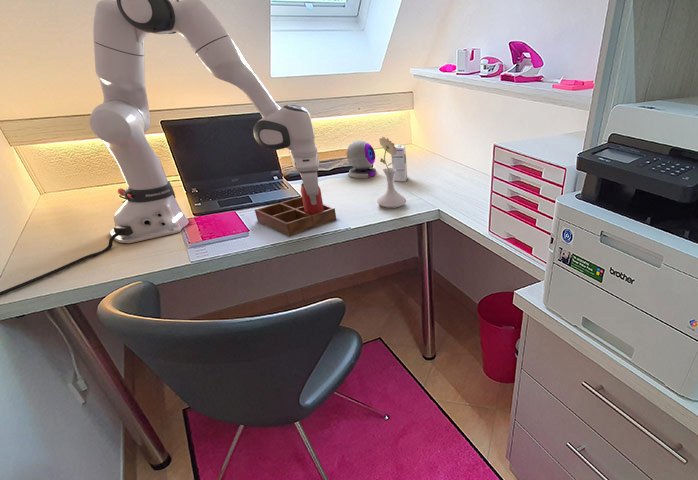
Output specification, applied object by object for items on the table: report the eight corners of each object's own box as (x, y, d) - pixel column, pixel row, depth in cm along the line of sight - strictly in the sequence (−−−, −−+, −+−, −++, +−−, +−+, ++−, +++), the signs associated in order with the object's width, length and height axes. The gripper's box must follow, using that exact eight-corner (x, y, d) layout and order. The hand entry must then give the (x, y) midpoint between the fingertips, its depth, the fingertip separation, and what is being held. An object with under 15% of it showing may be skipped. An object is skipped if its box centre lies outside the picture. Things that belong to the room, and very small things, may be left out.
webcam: (369, 179, 194) (366, 144, 186) (344, 176, 196) (339, 142, 188) (380, 171, 205) (377, 138, 196) (356, 169, 207) (352, 136, 198)
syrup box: (405, 181, 193) (404, 148, 184) (393, 181, 193) (390, 147, 184) (407, 177, 197) (405, 145, 189) (394, 177, 197) (392, 144, 189)
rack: (289, 236, 141) (286, 224, 138) (257, 222, 150) (254, 209, 148) (336, 220, 153) (334, 208, 151) (304, 207, 163) (302, 196, 160)
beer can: (319, 221, 149) (313, 187, 142) (302, 219, 150) (295, 185, 143) (328, 215, 154) (322, 182, 147) (311, 213, 155) (305, 180, 148)
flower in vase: (411, 207, 165) (407, 140, 151) (383, 212, 161) (377, 143, 146) (398, 197, 175) (394, 133, 160) (372, 201, 170) (365, 135, 156)
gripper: (292, 152, 147) (300, 191, 155) (297, 168, 132) (306, 211, 140) (311, 151, 149) (318, 190, 157) (318, 166, 134) (325, 208, 142)
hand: (312, 200), depth 148 cm, fingers closed on beer can, 6 cm apart
